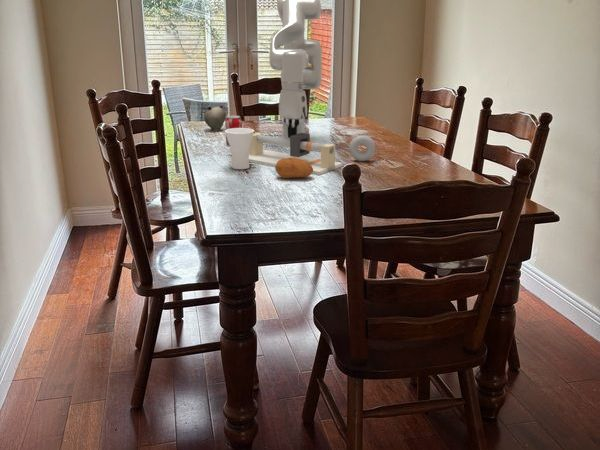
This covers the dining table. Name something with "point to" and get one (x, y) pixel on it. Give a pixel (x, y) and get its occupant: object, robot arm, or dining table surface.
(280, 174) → the potato
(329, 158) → the pipe stand
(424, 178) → the dining table surface
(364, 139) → the donut
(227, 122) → the soda can
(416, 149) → the dining table surface
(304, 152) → the collar
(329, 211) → the dining table surface
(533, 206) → the dining table surface
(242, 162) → the cup
